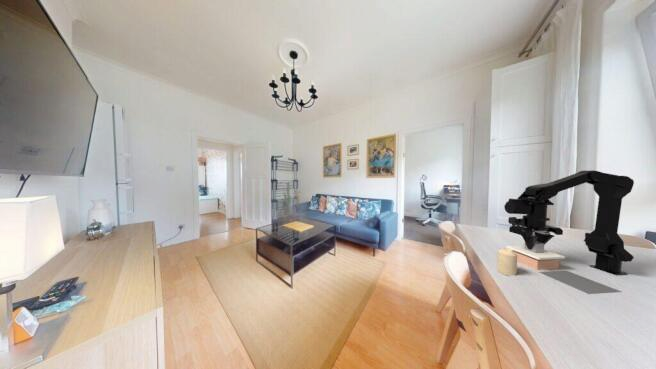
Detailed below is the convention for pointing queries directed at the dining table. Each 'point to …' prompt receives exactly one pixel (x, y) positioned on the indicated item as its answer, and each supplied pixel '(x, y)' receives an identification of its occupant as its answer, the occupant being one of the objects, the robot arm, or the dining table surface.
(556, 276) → the mat
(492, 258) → the dining table surface
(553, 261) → the dish
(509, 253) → the candle
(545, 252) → the lid
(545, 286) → the dining table surface
